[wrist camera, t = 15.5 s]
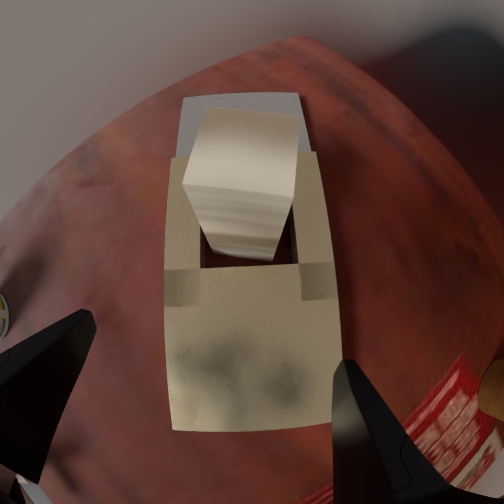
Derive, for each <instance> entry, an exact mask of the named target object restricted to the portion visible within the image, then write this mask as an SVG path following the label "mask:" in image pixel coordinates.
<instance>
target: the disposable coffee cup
mask: <svg viewBox="0 0 504 504" xmlns="http://www.w3.org/2000/svg"><path fill="white" fill-rule="evenodd" d="M478 404H479V408H480V410H481V411H482V412H484V413H486V414H488V415H491V416H493V417H495V418H497V419H500V420H502V421H504V359H501V360H496V361H494V362H493V363H492V364H491V365H490V366H489V368H488V369H487V371H486V373H485V375H484V377H483V379H482V382H481V385H480V389H479V395H478Z"/></svg>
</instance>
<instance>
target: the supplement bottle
mask: <svg viewBox="0 0 504 504" xmlns="http://www.w3.org/2000/svg"><path fill="white" fill-rule="evenodd" d="M8 326H9V311H8V306H7V303H6V301H5V299H4V298H3V296H2V295H1V294H0V339H2V338H3V337H4V336H5V334H6V332H7V330H8Z"/></svg>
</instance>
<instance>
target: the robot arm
mask: <svg viewBox="0 0 504 504" xmlns="http://www.w3.org/2000/svg"><path fill="white" fill-rule="evenodd" d="M96 329H97V328H96V324H95V321H94V318H93V315H92V312H91V311H89V310H86V309H80V310H78V311H76V312H74V313H72V314H70V315H68V316H67V317H65V318H63V319H61V320H59V321H57V322H56V323H54V324H52V325H50V326H48V327H46V328H45V329H43V330H41V331H39V332H37V333H36V334H34V335H32V336H30V337H29V338H27V339H25V340H23V341H22V342H20V343H18V344H16V345H14V346H13V347H12V348H9V349H7V350H6V351H4V352H2V353H0V504H25V503H26V501H25V498H24V496H23V493H22V490H21V488H20V485H19V482H18V479H17V477H16V474H18V475H20V476H22V477H24V478H26V479H27V480H29V481H31V482H33V483H35V484H37V485H38V483H39V480H40V477H41V473H42V470H43V467H44V464H45V460H46V457H47V454H48V451H49V448H50V445H51V442H52V439H53V437H54V434H55V431H56V429H57V426H58V423H59V421H60V418H61V416H62V413H63V411H64V408H65V406H66V404H67V401H68V399H69V397H70V394H71V392H72V390H73V387H74V385H75V383H76V381H77V379H78V376H79V374H80V372H81V370H82V368H83V366H84V363H85V361H86V358H87V355H88V352H89V350H90V347H91V344H92V342H93V339H94V336H95V334H96ZM331 423H332V444H333V504H504V495H503V496H501V497H500V498H492V497H488V496H483V495H479V494H476V493H472V492H468V491H465V490H462V489H458V488H456V487H454V486H452V485H451V484H449V483H448V482H447V481H446V480H445V479H444V478H443V477H442V476H441V475H440V474H439V472H438V471H437V470H436V469H435V468H434V467H433V466H432V465H431V464H430V462H429V461H428V460H427V459H426V458H425V457H424V455H423V454H422V453H421V452H420V450H419V449H418V448H417V446H416V445H415V444H414V442H413V441H412V440H411V438H410V437H409V435H408V434H406V431H405V430H404V428H403V427H402V425H401V424H400V423H399V421H398V420H397V418H396V417H395V416H394V414H393V413H392V411H391V410H390V409H389V407H388V406H387V404H386V403H385V402H384V400H383V399H382V397H381V396H380V395H379V393H378V392H377V390H376V389H375V388H374V386H373V385H372V384H371V382H370V381H369V379H368V378H367V377H366V375H365V374H364V373H363V371H362V370H361V368H360V367H359V366H358V364H357V363H356V362H355V361H354V360H353V359H342V360H341V362H340V363H339V365H338V367H337V369H336V371H335V372H334V375H333V391H332V410H331Z"/></svg>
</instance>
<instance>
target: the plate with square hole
mask: <svg viewBox="0 0 504 504" xmlns="http://www.w3.org/2000/svg"><path fill="white" fill-rule="evenodd" d="M207 107H218V108H233V109H245V110H255V111H264V112H273V113H280V114H287V115H294V116H300V120H299V136H298V150H297V163H296V176H295V187H294V198H293V201H292V204H291V207H290V210H289V213H288V220H289V230H290V240H291V250H292V261H293V264H284V265H265V266H246V267H225V268H205V234H204V232H203V230H202V227H201V225H200V223H199V221H198V219H197V217H196V214H195V212H194V210H193V208H192V205H191V203H190V201H189V199H188V196H187V194H186V192H185V190H184V187H183V185H182V182H183V179H184V175H185V172H186V168H187V165H188V162H189V159H190V155H191V152H192V149H193V146H194V143H195V140H196V137H197V134H198V131H199V128H200V125H201V122H202V119H203V116H204V113H205V111H206V108H207ZM164 323H165V348H166V365H167V379H168V391H169V401H170V410H171V419H172V427H173V430H185V431H207V432H239V431H261V430H275V429H285V428H295V427H303V426H310V425H316V424H323V423H329V422H331V410H332V391H333V375H334V372H335V371H336V369H337V367H338V365H339V363H340V362H341V360H342V343H341V327H340V314H339V302H338V292H337V282H336V273H335V264H334V256H333V249H332V241H331V234H330V227H329V221H328V215H327V208H326V203H325V197H324V191H323V186H322V180H321V175H320V170H319V165H318V160H317V155H316V152H311V147H310V143H309V138H308V133H307V129H306V125H305V120H304V116H303V112H302V108H301V103H300V99H299V96H298V93H276V92H262V93H232V94H217V95H205V96H196V97H187V98H183V105H182V111H181V118H180V126H179V133H178V141H177V150H176V158H172V159H171V168H170V178H169V188H168V201H167V215H166V232H165V258H164Z"/></svg>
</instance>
